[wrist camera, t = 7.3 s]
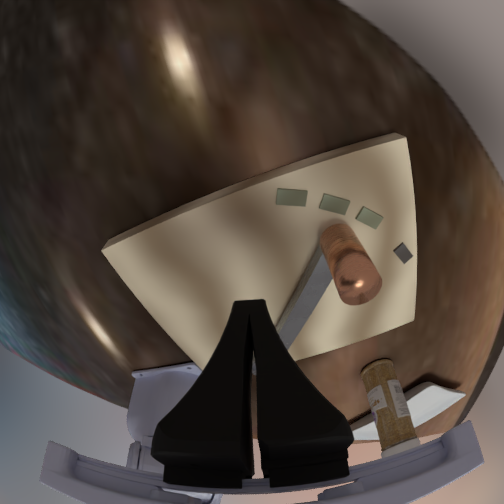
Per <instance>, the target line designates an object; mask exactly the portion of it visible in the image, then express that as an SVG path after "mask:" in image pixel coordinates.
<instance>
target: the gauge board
mask: <svg viewBox="0 0 504 504" xmlns="http://www.w3.org/2000/svg"><path fill="white" fill-rule="evenodd" d="M334 224H346V225H348V226H350V227H351V228H352V229H353V231H354V232H355V234H356V236H357V237H358V239H359V240H360V242H361V244H362V245H363V247H364V249H365V250H366V252H367V254H368V255H369V257H370V259H371V260H372V262H373V264H374V265H375V267H376V269H377V271H378V272H379V274H380V276H381V278H382V287H381V289H380V291H379V293H378V294H377V295H376V296H375V297H374V298H373V299H372V300H370V301H369V302H367V303H364V304H361V305H356V306H352V305H347V304H345V303H344V302H342V300H341V299H340V296H339V294H338V291H337V288H336V286H335V283H334V280H333V279H332V280H331V282H330V284H329V286H328V287H327V289H326V291H325V292H324V294H323V296H322V297H321V299H320V301H319V302H318V304H317V306H316V307H315V309H314V310H313V312H312V314H311V315H310V317H309V318H308V320H307V322H306V323H305V325H304V326H303V328H302V329H301V331H300V332H299V334H298V336H297V337H296V339H295V340H294V342H293V343H292V345H291V346H290V348H289V349H288V352H289V354H290V355H291V357H292V358H293V360H294V361H296V360H300V359H303V358H307V357H310V356H314V355H317V354H321V353H324V352H327V351H331V350H334V349H337V348H340V347H343V346H346V345H349V344H352V343H355V342H358V341H361V340H364V339H367V338H370V337H372V336H375V335H378V334H381V333H383V332H386V331H388V330H391V329H394V328H396V327H399V326H401V325H404V324H406V323H408V322H411V321H413V320H414V315H415V302H416V282H417V233H416V213H415V200H414V189H413V180H412V172H411V164H410V158H409V151H408V145H407V140H406V137H404V136H402V135H400V134H397V133H391V134H387V135H384V136H380V137H376V138H373V139H369V140H365V141H362V142H358V143H355V144H351V145H348V146H345V147H341V148H338V149H335V150H331V151H328V152H325V153H322V154H319V155H316V156H313V157H309V158H306V159H303V160H300V161H297V162H294V163H292V164H289V165H286V166H283V167H280V168H277V169H274V170H271V171H269V172H266V173H263V174H260V175H258V176H255V177H252V178H250V179H247V180H244V181H242V182H239V183H236V184H234V185H231V186H229V187H226V188H224V189H221V190H219V191H216V192H214V193H211V194H209V195H206V196H204V197H201V198H199V199H197V200H194V201H192V202H190V203H187V204H185V205H182V206H180V207H178V208H176V209H173V210H171V211H169V212H166V213H164V214H162V215H160V216H158V217H155V218H153V219H151V220H149V221H147V222H144V223H142V224H140V225H138V226H136V227H134V228H132V229H130V230H127V231H125V232H123V233H121V234H119V235H117V236H115V237H113V238H111V239H109V240H108V241H107V243H106V244H105V246H104V247H103V249H102V250H101V251H102V252H103V254H104V255H105V257H106V258H107V259H108V261H109V262H110V263H111V265H112V266H113V268H114V269H115V270H116V272H117V273H118V274H119V276H120V277H121V278H122V279H123V281H124V282H125V283H126V285H127V286H128V287H129V288H130V290H131V291H132V292H133V293H134V295H135V296H136V297H137V298H138V300H139V301H140V302H141V303H142V305H143V306H144V307H145V308H146V309H147V311H148V312H149V313H150V314H151V315H152V316H153V318H154V319H155V320H156V321H157V322H158V323H159V325H160V326H161V327H162V328H163V329H164V330H165V331H166V332H167V334H168V335H169V336H170V337H171V338H172V339H173V340H174V341H175V342H176V343H177V345H178V346H179V347H180V348H181V349H182V350H183V351H184V352H185V353H186V354H187V355H188V356H189V357H190V358H191V359H192V360H193V361H194V362H195V363H196V364H197V365H198V366H199V367H200V368H201V369H202V370H203V369H204V368H205V366H206V365H207V363H208V361H209V360H210V358H211V356H212V354H213V352H214V350H215V349H216V347H217V345H218V343H219V341H220V338H221V336H222V334H223V331H224V329H225V327H226V324H227V322H228V319H229V316H230V313H231V309H232V305H233V302H234V301H238V300H254V299H264V300H266V305H267V308H268V312H269V314H270V317H271V319H272V322H273V324H274V326H275V328H276V326H277V324H278V323H279V321H280V319H281V317H282V315H283V313H284V312H285V310H286V308H287V306H288V304H289V302H290V300H291V299H292V297H293V295H294V293H295V291H296V289H297V287H298V285H299V283H300V282H301V280H302V278H303V276H304V274H305V272H306V270H307V268H308V266H309V264H310V262H311V260H312V258H313V256H314V254H315V252H316V250H317V248H318V246H319V244H320V237H321V235H322V233H323V232H324V231H325V230H326V229H327V228H328V227H330V226H331V225H334ZM253 354H254V351H253Z"/></svg>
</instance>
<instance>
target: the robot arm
mask: <svg viewBox="0 0 504 504" xmlns="http://www.w3.org/2000/svg"><path fill="white" fill-rule="evenodd" d="M253 351H254V358H255V365H256V381H257V437H258V443H259V448H260V453H261V469H262V471H263V475H264V478H262V479H252V476H253V475H254V474H255V473H254V456H253V438H252V417H251V382H252V366H253ZM132 376H133V377H134V378H136V379H135V383H134V387H133V391H132V396H131V400H130V404H129V409H128V414H127V426H128V430H129V433H130V435H131V436H132V438H133V439H134V440H135V442H134V443H132V444H131V445H130V448H129V453H128V459H127V465H126V467H123V466H119V465H115V464H111V463H107V462H104V461H100V460H96V459H93V458H89V457H86V456H83V455H80V454H78V453H76V452H75V451H74V450H72V449H70V448H68V447H65V446H63V445H60V444H57V443H55V442H52V441H49V442H48V445H47V449H46V453H45V457H44V461H43V466H42V470H41V475H40V480H39V481H40V483H42V484H44V485H46V486H48V487H50V488H52V489H54V490H56V491H58V492H60V493H62V494H64V495H66V496H68V497H70V498H73V499H75V500H77V501H80V502H82V503H84V504H220V501H221V498H222V495H223V494H268V493H282V492H292V491H301V490H308V489H315V488H322V487H327V486H333V485H338V484H342V483H347V482H351V481H354V482H353V483H350V484H346V485H343V486H339V487H335V488H330V489H326V490H324V491H323V493H320V494H318V501H312V502H305V503H296V504H409V503H411V502H413V501H416V500H418V499H420V498H422V497H424V496H426V495H428V494H431V493H433V492H434V491H437V490H438V489H440V488H442V487H444V486H446V485H448V484H450V483H451V482H453V481H455V480H457V479H459V478H460V477H462V476H464V475H466V474H467V473H469V472H471V471H472V470H474V469H475V468H477V467H479V466H480V465H482V464H483V463H484V459H483V455H482V452H481V449H480V446H479V443H478V440H477V437H476V434H475V431H474V428H473V426H472V423H471V421H470V420H468V421H467V422H464V423H462V424H460V425H458V426H456V427H454V428H452V429H450V430H449V431H447V432H446V433H444V434H443V435H442V436H441V437H439V438H437V439H435V440H432V441H430V442H427V443H425V444H422V445H420V446H417V447H415V448H412V449H409V450H406V451H403V452H400V453H397V454H394V455H391V456H388V457H385V458H381V459H378V460H374V461H371V462H367V463H363V464H359V465H355V466H350V467H348V461H347V458H348V450H347V448H348V447H349V446H350V445H351V444H352V443H353V441H354V435H353V432H352V430H351V427H350V425H349V423H348V421H347V419H346V418H345V416H344V415H343V414H342V413H341V412H340V411H339V410H338V409H337V408H335V407H334V406H333V405H332V404H331V403H330V402H329V401H328V400H327V399H326V398H325V397H324V396H323V395H322V394H321V393H320V392H319V391H318V390H317V389H316V387H315V386H314V385H313V384H312V383H311V382H310V381H309V379H308V378H307V377H306V376H305V375H304V373H303V372H302V371H301V369H300V368H299V367H298V365H297V364H296V362H295V361H294V360H293V358H292V357H291V355H290V354H289V352H288V350H287V349H286V347H285V345H284V344H283V342H282V340H281V338H280V336H279V334H278V332H277V330H276V328H275V326H274V324H273V322H272V319H271V317H270V314H269V312H268V308H267V305H266V300H264V299H254V300H238V301H234V302H233V305H232V309H231V313H230V316H229V319H228V322H227V324H226V327H225V329H224V331H223V334H222V336H221V338H220V341H219V343H218V345H217V347H216V349H215V350H214V352H213V354H212V356H211V358H210V360H209V361H208V363H207V365H206V366H205V368H204V369H203V370H202V369H201V368H200V367H199V366H198V365H197V364H196V363H193V362H191V363H186V364H180V365H174V366H168V367H162V368H155V369H148V370H141V371H134V372H132Z"/></svg>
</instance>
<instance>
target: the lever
mask: <svg viewBox="0 0 504 504" xmlns="http://www.w3.org/2000/svg"><path fill="white" fill-rule="evenodd" d="M332 279H333V280H334V283H335V286H336V288H337V291H338V294H339V296H340V299H341V300H342V302H344V303H345V304H347V305H352V306H356V305H361V304H364V303H367V302H369V301H370V300H372V299H373V298H374V297H375V296H376V295H377V294H378V293H379V291H380V289H381V287H382V278H381V276H380V274H379V272H378V271H377V269H376V267H375V265H374V264H373V262H372V260H371V259H370V257H369V255H368V254H367V252H366V250H365V249H364V247H363V245H362V244H361V242H360V240H359V239H358V237H357V236H356V234H355V232H354V231H353V229H352V228H351V227H350V226H348V225H346V224H334V225H331V226H330V227H328V228H327V229H326V230H325V231H324V232H323V233H322V235H321V237H320V244H319V246H318V248H317V250H316V252H315V254H314V256H313V258H312V260H311V262H310V264H309V266H308V268H307V270H306V272H305V274H304V276H303V278H302V280H301V282H300V283H299V285H298V287H297V289H296V291H295V293H294V295H293V297H292V299H291V300H290V302H289V304H288V306H287V308H286V310H285V312H284V313H283V315H282V317H281V319H280V321H279V323H278V324H277V326H276V330H277V332H278V334H279V336H280V338H281V340H282V342H283V344H284V345H285V347H286V349H287V350H288V349H289V348H290V346H291V345H292V343H293V342H294V340H295V339H296V337H297V336H298V334H299V332H300V331H301V329H302V328H303V326H304V325H305V323H306V322H307V320H308V318H309V317H310V315H311V314H312V312H313V310H314V309H315V307H316V306H317V304H318V302H319V301H320V299H321V297H322V296H323V294H324V292H325V291H326V289H327V287H328V286H329V284H330V282H331V280H332ZM252 373H253V374H254V375H256V365H255V358H254V354H253V366H252Z"/></svg>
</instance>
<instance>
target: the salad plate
mask: <svg viewBox="0 0 504 504" xmlns="http://www.w3.org/2000/svg"><path fill="white" fill-rule="evenodd" d="M465 395H466V394H465V393H464V392H462V391H459V390H454V389H449V388H445V387H442V386H439V385H436V384H434V383H432V382H424V383H421V384H419V385H417V386H415V387H413V388H412V389H410V390H408V391H407V392H405V393H404V396H405V399H406V402H407V405H408V408H409V411H410V414H411V419H412V423H413V426H414V428H415V427H417V426H419V425H420V424H422V423H424V422H426V421H427V420H429V419H431V418H433V417H434V416H436V415H437V414H439V413H441V412H442V411H444V410H445V409H447V408H448V407H450V406H451V405H452V404H454V403H455V402H457V401H458V400H460V399H461V398H463V397H464V396H465ZM350 427H351V430H352V432H353V435H354V440H379V436H378V432H377V428H376V426H375V422H374V418H373V415H372V413H370V414H369V415H367V416H365V417H363V418H361V419H360V420H358V421H356V422H354V423H353V424H351V425H350Z"/></svg>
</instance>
